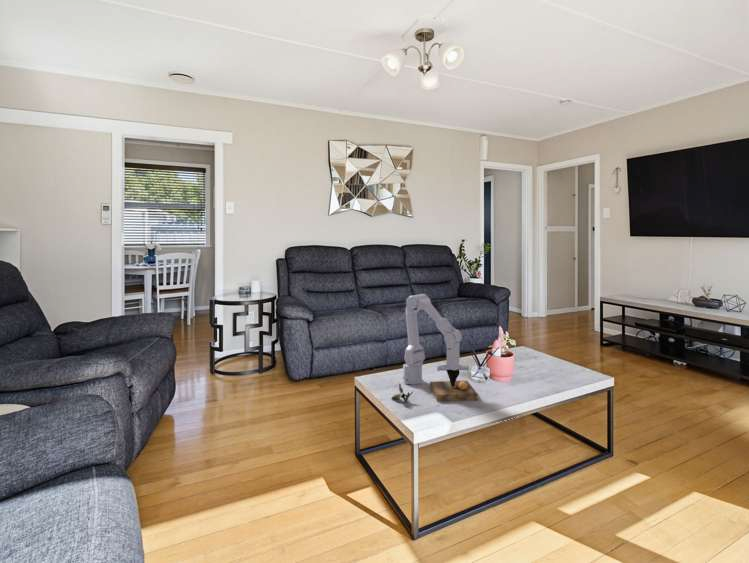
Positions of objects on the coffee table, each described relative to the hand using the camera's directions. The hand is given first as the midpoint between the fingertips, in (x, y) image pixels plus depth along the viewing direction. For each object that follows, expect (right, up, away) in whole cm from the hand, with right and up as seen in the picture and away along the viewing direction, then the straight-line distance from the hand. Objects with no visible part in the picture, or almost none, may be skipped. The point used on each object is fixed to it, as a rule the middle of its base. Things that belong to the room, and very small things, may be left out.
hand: (452, 385), depth 185 cm
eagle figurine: (-24, -5, -6) cm, 25 cm away
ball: (+5, 0, 0) cm, 5 cm away
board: (0, -4, +1) cm, 4 cm away
